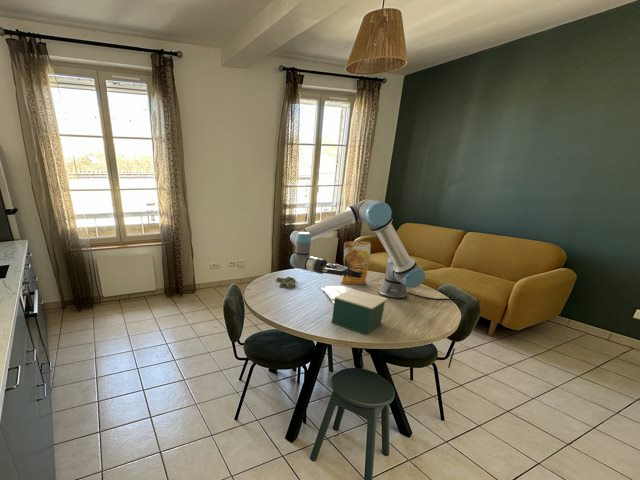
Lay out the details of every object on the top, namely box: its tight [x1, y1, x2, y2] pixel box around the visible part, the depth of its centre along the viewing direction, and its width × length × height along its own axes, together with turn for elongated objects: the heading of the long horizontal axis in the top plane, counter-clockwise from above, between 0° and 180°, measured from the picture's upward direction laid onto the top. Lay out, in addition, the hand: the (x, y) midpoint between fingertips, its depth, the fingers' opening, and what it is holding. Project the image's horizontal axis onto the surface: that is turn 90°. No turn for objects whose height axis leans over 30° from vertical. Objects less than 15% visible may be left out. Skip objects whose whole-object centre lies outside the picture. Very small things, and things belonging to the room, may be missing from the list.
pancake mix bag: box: [341, 240, 372, 285], centre depth 215 cm, size 7×19×28 cm, turn 93°
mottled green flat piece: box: [276, 276, 296, 289], centre depth 217 cm, size 18×12×2 cm, turn 2°
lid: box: [335, 288, 388, 309], centre depth 157 cm, size 19×17×1 cm
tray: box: [320, 285, 356, 305], centre depth 198 cm, size 20×28×4 cm
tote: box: [331, 299, 386, 335], centre depth 160 cm, size 18×17×13 cm
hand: (360, 275), depth 154 cm, fingers closed
